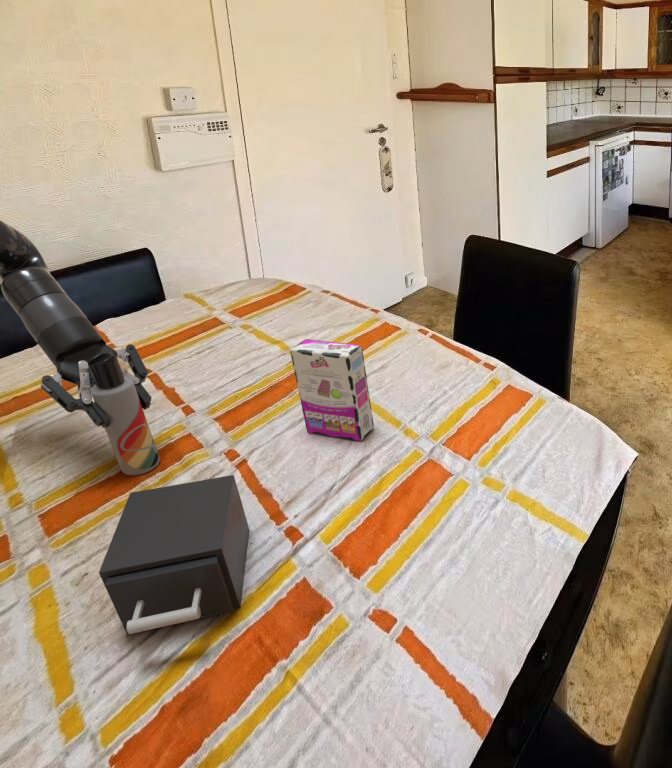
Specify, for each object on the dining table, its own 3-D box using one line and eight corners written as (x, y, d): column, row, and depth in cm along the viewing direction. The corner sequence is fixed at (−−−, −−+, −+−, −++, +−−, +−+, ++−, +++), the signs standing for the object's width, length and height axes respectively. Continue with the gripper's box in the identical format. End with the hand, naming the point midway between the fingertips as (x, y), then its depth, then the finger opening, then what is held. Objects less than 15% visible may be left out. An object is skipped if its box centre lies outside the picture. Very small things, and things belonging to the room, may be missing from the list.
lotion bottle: (161, 469, 101) (123, 359, 92) (122, 480, 99) (78, 368, 89) (159, 452, 106) (122, 345, 96) (121, 462, 103) (79, 353, 94)
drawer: (228, 639, 71) (211, 589, 67) (117, 664, 68) (93, 614, 64) (242, 536, 86) (228, 491, 82) (151, 553, 83) (133, 508, 79)
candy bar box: (375, 427, 111) (363, 344, 103) (361, 442, 107) (348, 356, 99) (321, 418, 114) (305, 336, 106) (305, 432, 110) (287, 349, 102)
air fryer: (240, 607, 76) (221, 548, 71) (126, 632, 73) (98, 572, 68) (249, 529, 88) (233, 474, 84) (152, 548, 85) (130, 492, 81)
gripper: (106, 326, 104) (167, 405, 104) (8, 358, 94) (76, 447, 94) (112, 302, 99) (176, 386, 99) (10, 333, 89) (82, 427, 89)
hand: (127, 415), depth 96 cm, fingers closed on lotion bottle, 5 cm apart
